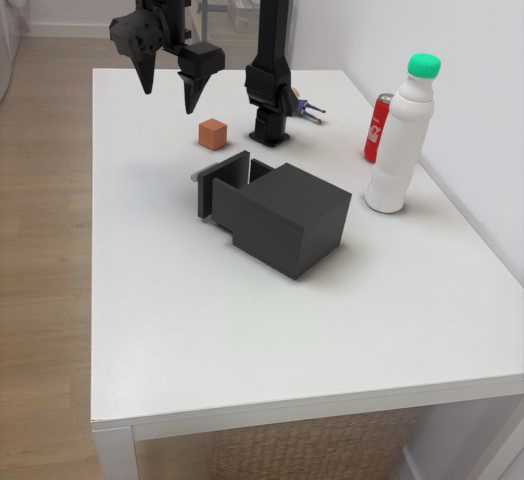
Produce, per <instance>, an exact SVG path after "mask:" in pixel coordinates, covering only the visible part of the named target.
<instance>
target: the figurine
mask: <svg viewBox="0 0 524 480" xmlns="http://www.w3.org/2000/svg"><path fill="white" fill-rule="evenodd" d="M291 89H292V90H293V92H294V94H295V95H296V97H297V98H298V100H299V103H298V106H297V109H296V112H295V113H296V114H297V115H299V117H302V116H306V117H308V118H311V119H313V120H315V121H316V122H318V124H322V119H320V118H318V117H316V116H314V115H313V114H311V113H309V112H307V111H306V109H307V108H308V109H311V110H314V111H316V112H317V111H318V112H320V113H322V114H326V112H327V110H325V109H321V108H319V107H317V106H314V105H312V104H311V103H309V102H308V99H299V98H301V95H300V92H299V91H298V89H296V88H295V87H293V86H291Z"/></svg>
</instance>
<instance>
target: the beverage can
mask: <svg viewBox="0 0 524 480" xmlns="http://www.w3.org/2000/svg"><path fill="white" fill-rule="evenodd" d="M394 95H395V93H390V92H389V93H384V92H383V93H381V94H379V95H378V97H377V99H376V100H375V103H374V107H373V111H372V116H371V120H370V124H369V128H368V133H367V136H366V141H365V143H364V144H365V145H364V148H363V153H364V159H365V160H367V162H370V163H372V164H375V163H376V157H377V152H378V147H379V143H380V139H381V136H382V132H383V128H384V125H385V122H386V119H387V116H388V113H389V105H390V102H391V99H392V98H393V96H394Z"/></svg>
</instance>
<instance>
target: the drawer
mask: <svg viewBox="0 0 524 480" xmlns="http://www.w3.org/2000/svg"><path fill="white" fill-rule="evenodd" d="M274 169H276V168H275V167H273V166H271V165H269V164H267V163H265V162H263V161H261V160H259V159H257V158H254V157H253V158H251V152H250V151H249V150H246V149H244V150H242V151H240V152H238V153H236V154H234V155H232V156H230V157H228V158H225V159H224V160H222V161H220V162H218V161H216V162H213V163H211V164H210V165H208V166H206V167H204V168H201V169H200V170H198V171H196V172H194V173H191V174H190V180H191V181H192V182H193V183H197V217H198V218H200V219H201V220H205V219H207V218H208V217H210V216H211V220H212V221H214V222H215V223H217V224H218V225H221V226H222V227H224V228H226V229H227V230H229V231H230V232H233V225H234V209H235V192H236V191H237V190H238V189H240V188H242V187H244V186H245V185H247V184H249V183H251V182H253V181H254V180H256V179H258V178H260V177H262V176H263V175H265V174H267V173H269V172H270V171H272V170H274Z"/></svg>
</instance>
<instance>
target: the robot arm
mask: <svg viewBox="0 0 524 480" xmlns="http://www.w3.org/2000/svg"><path fill="white" fill-rule="evenodd" d="M134 2H135V9H134V11H132V12H130V13H128V14H126V15H123V16H118V17H114V18H112V20H111V22H110V24H109V26H108V29H109V31H108V32H109V40H110V41H111V42H113V43H114V46H115V48H116V52H117V53H118V55H120V56H125V57H127V58H128V59H130V60H131V62H132V65H133V67H134V69H135V72H136V74H137V77H138V79H139V82H140V85H141V88H142V90H143V92H144V94H145V95H147V96H148V95H151V94H152V93H153V88H154V87H153V86H154V79H155V70H156V58H157V52H158V51H159V50H161V51H164V52H166V53H169V54H171V55H173V56H176V57H177V65H178V67H179V71H176V73H177V75H178V77H179V78H180V79H181V80H182V82H183V95H184V108H185V113H186V115H191V114H193V113H194V111H195V108H196V107H197V104H198V103H199V100H200V98H201V96H202V93H203V91H204V89H205V88H206V86H207V84H208V83H209V81H210V79H211V78H212V76H214V75H215V74H218V73H219V72H222V71H223V70H225V69H226V52H225V51H224V50H223V49H222V47H220V46H218V45H215V44H213V43H210V42H207V41H206V40H202V41H199V42H195V43H192V44H188V43H186V41H187V40H190V39H192V30H191V29H189V28H186V8H189V7H192V0H135V1H134ZM289 5H290V0H259V12H258V13H259V15H258V33H257V34H258V35H257V51H256V54H255V57H254V58H253V60H252V61H251V63H250V64H246V66H245V69H244V70H245V78H244V80H245V81H244V84H243V87H244V88H245V90H246V91H245V92H246V95H247V98H248V104H250V105H253V106H255V107H257V108H256V115H255V121H254V129H253V131H251V132H249V133H248V137H249V138H251V139H253V140H254V141H257V142H259V143H262V144H264V145H266V146H268V147H270V148H274V147H276V146H277V145H280V144H282V143H284V142H286V141H288V140H290V139H291V135H290V134H288V133H286V126H287V118H288V117H289V118H291V117H293V116H294V113H297V112H296V109H297V106H298V103H299V100H300V99H299V97H298V96H297V97H298V98H297V97H296V95H295V94H294V92H293V90H292V89H291V87H292V71H291V68H290V66H289V63H288V61H287V58H286V54H285V52H286V43H287V42H286V40H287V29H288V19H289V18H288V17H289Z"/></svg>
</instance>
